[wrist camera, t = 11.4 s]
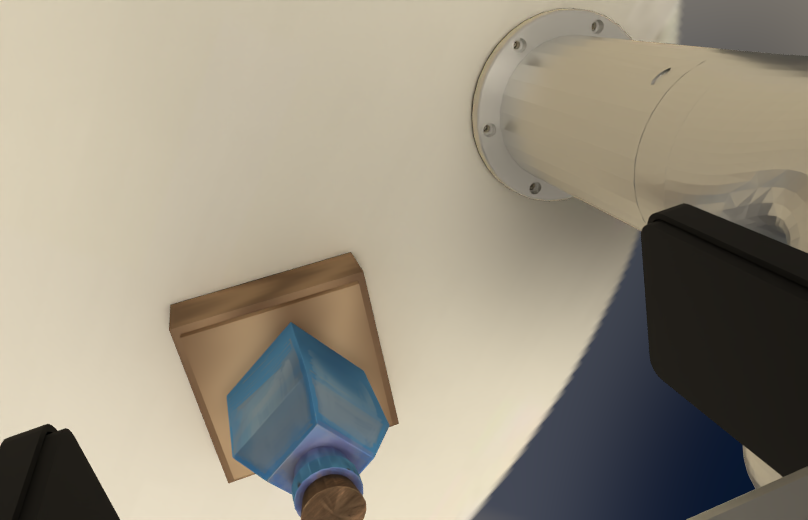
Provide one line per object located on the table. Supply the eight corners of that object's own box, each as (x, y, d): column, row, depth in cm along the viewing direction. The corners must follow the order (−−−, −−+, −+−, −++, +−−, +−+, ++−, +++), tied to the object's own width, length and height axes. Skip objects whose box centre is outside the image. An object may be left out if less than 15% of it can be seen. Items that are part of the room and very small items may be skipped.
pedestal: (350, 252, 45) (365, 274, 41) (385, 396, 49) (400, 427, 46) (170, 305, 42) (168, 333, 39) (225, 451, 47) (228, 488, 44)
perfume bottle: (302, 439, 44) (340, 582, 33) (226, 396, 41) (240, 535, 30) (363, 371, 43) (421, 492, 33) (290, 321, 41) (327, 437, 30)
